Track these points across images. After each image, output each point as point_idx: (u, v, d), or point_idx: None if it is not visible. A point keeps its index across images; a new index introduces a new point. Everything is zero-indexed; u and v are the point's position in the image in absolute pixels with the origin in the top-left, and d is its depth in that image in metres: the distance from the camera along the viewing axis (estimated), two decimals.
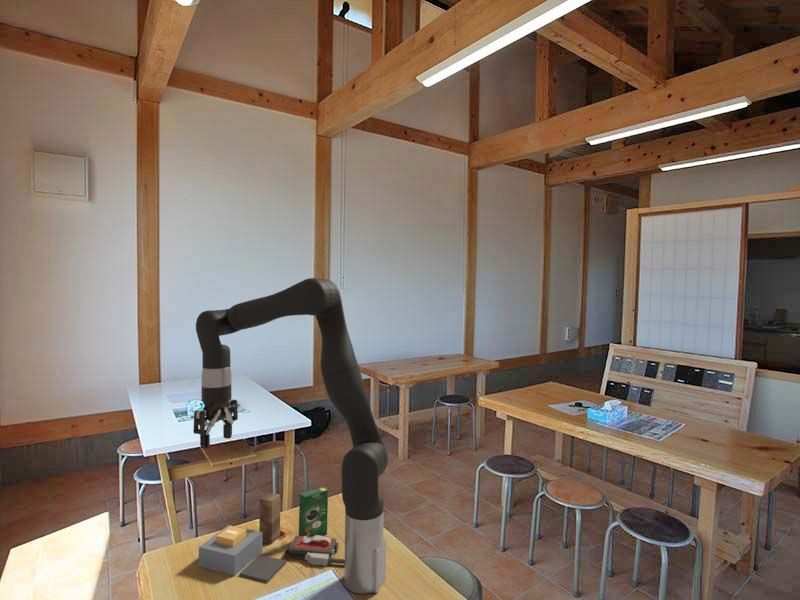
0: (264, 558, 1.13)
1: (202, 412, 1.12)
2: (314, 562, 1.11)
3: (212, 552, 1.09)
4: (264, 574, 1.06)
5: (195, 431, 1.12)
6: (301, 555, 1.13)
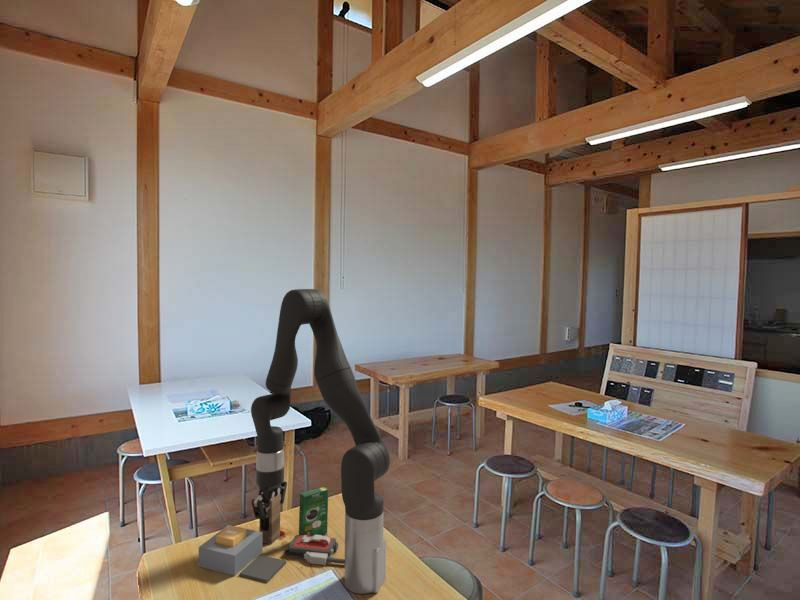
0: (264, 558, 1.13)
1: (259, 502, 1.16)
2: (313, 561, 1.12)
3: (212, 552, 1.09)
4: (264, 574, 1.06)
5: (257, 516, 1.18)
6: (300, 554, 1.14)
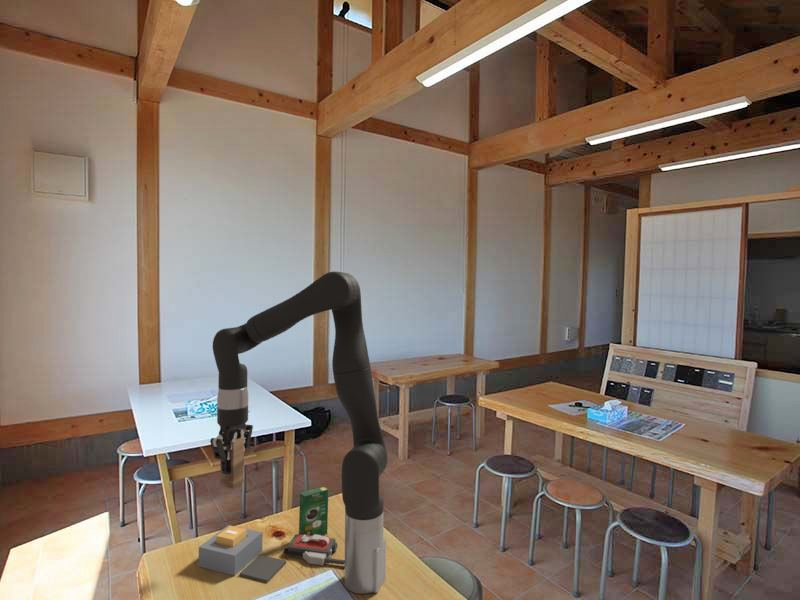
0: (264, 558, 1.13)
1: (218, 441, 1.07)
2: (311, 561, 1.12)
3: (212, 552, 1.09)
4: (264, 574, 1.06)
5: (216, 457, 1.09)
6: (299, 554, 1.14)
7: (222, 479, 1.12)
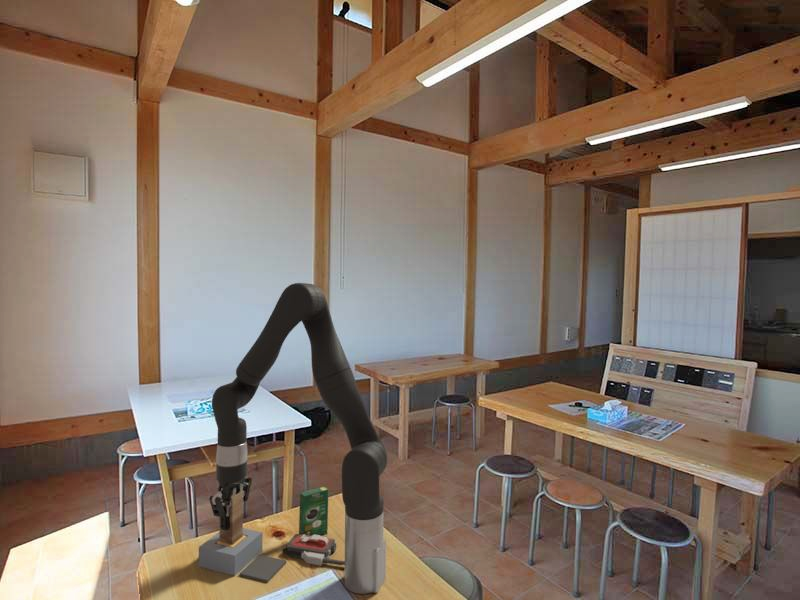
0: (264, 558, 1.13)
1: (217, 499, 1.07)
2: (309, 561, 1.12)
3: (212, 552, 1.09)
4: (264, 574, 1.06)
5: (215, 515, 1.09)
6: (298, 553, 1.14)
7: (221, 535, 1.12)
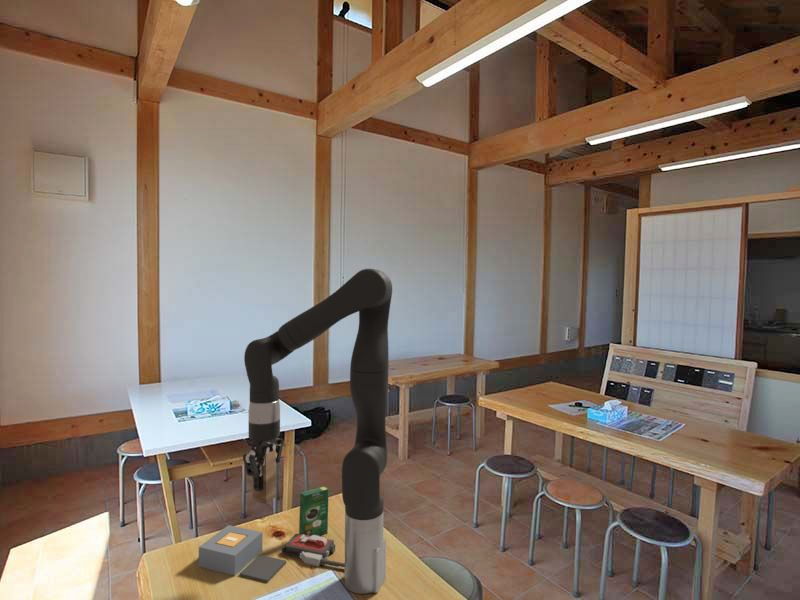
0: (264, 558, 1.13)
1: (251, 457, 1.02)
2: (307, 562, 1.12)
3: (212, 552, 1.09)
4: (264, 574, 1.06)
5: (249, 474, 1.04)
6: (296, 553, 1.14)
7: (254, 494, 1.07)
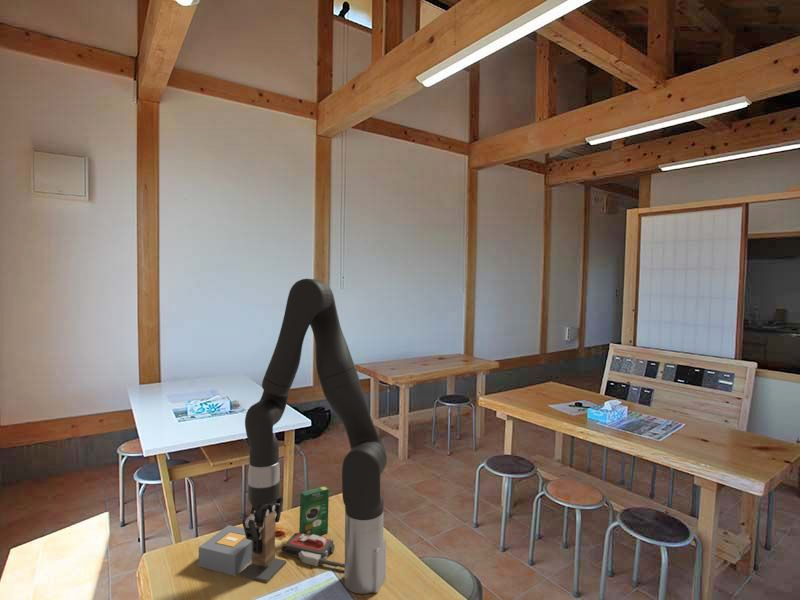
0: None
1: (251, 522, 1.03)
2: (305, 561, 1.12)
3: (212, 552, 1.09)
4: (264, 574, 1.06)
5: (248, 538, 1.05)
6: (295, 552, 1.14)
7: (253, 556, 1.08)
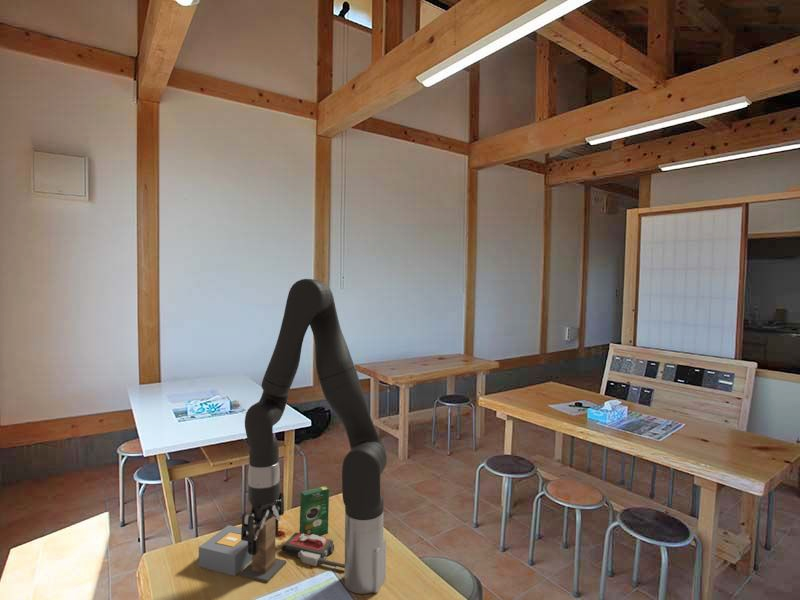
0: None
1: (251, 517, 1.03)
2: (305, 561, 1.12)
3: (212, 552, 1.09)
4: (264, 574, 1.06)
5: (243, 538, 1.03)
6: (295, 552, 1.15)
7: (254, 563, 1.08)
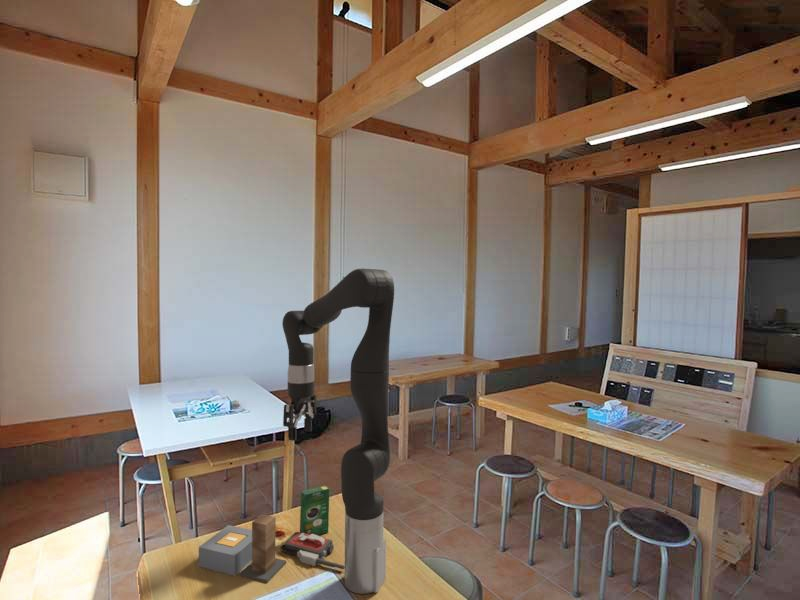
0: None
1: (291, 406, 1.19)
2: (303, 560, 1.12)
3: (212, 552, 1.09)
4: (264, 574, 1.06)
5: (285, 424, 1.19)
6: (294, 551, 1.15)
7: (254, 563, 1.08)
